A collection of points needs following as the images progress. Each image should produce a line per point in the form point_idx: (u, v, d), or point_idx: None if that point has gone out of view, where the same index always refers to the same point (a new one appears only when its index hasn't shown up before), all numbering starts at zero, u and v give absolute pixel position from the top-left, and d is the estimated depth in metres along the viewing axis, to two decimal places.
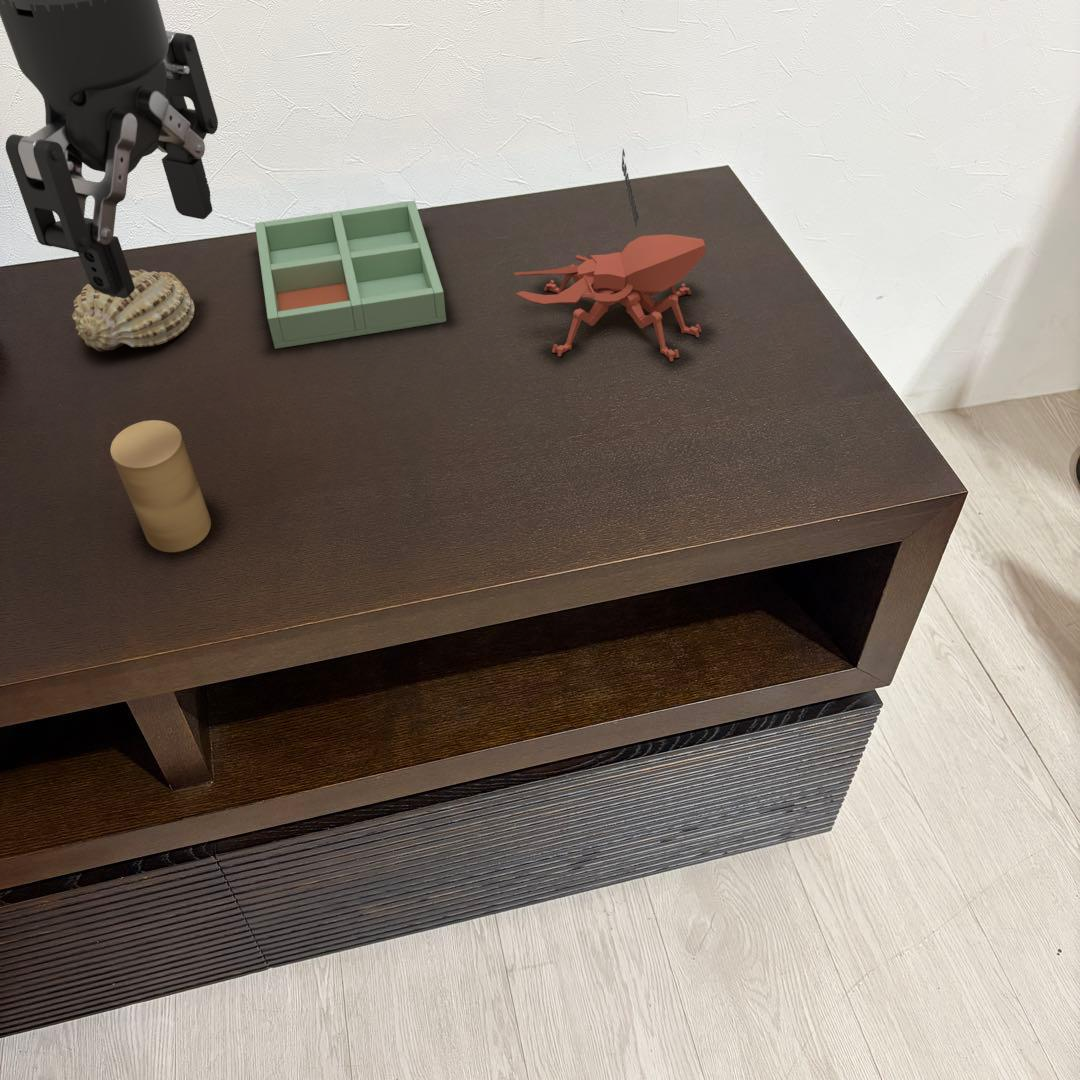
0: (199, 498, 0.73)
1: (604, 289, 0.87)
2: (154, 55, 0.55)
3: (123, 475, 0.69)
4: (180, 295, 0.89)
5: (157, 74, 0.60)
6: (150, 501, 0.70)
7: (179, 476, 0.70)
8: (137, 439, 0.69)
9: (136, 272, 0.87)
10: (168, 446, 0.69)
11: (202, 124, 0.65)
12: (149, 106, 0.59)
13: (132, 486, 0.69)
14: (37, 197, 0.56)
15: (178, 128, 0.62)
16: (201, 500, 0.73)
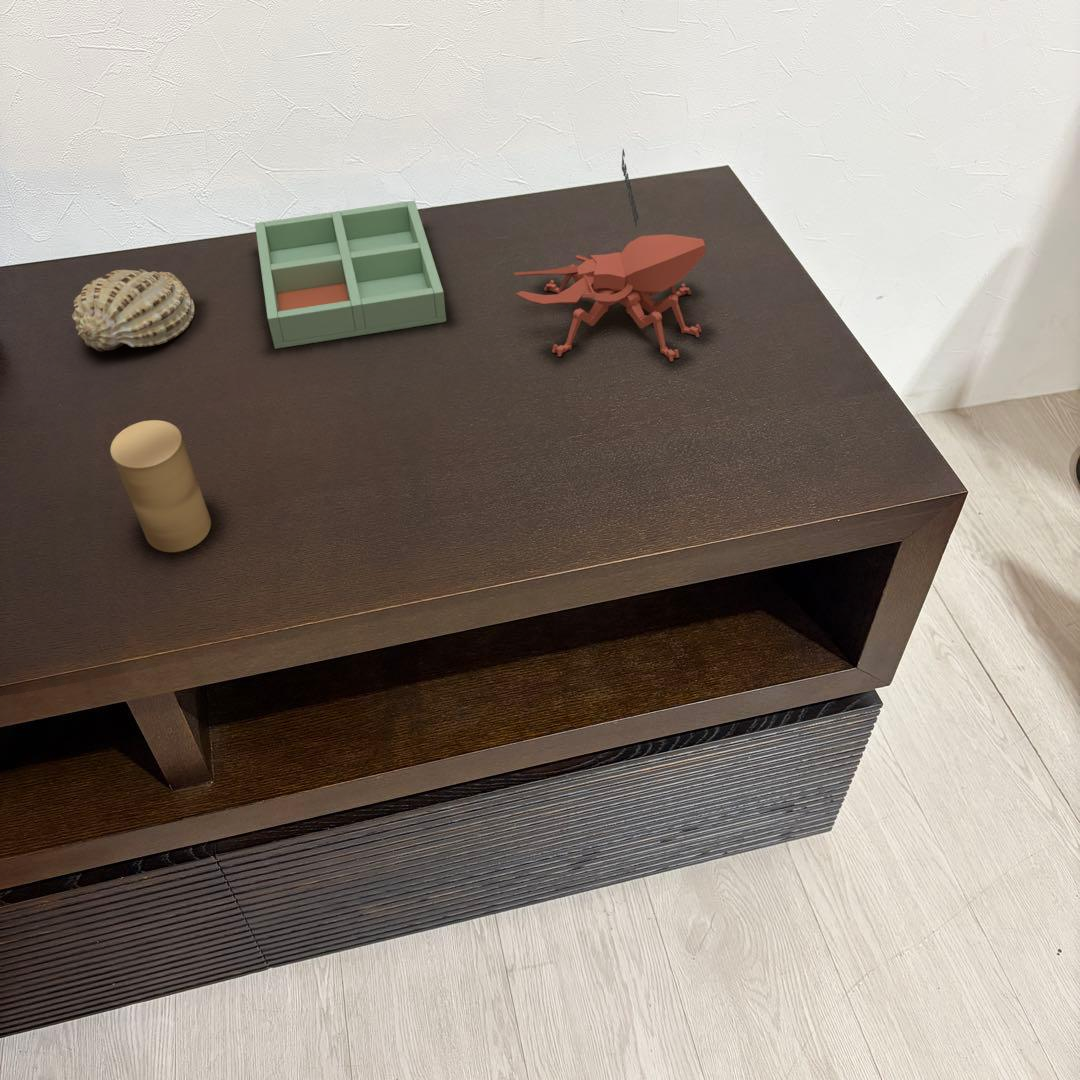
0: (199, 498, 0.73)
1: (604, 289, 0.87)
2: None
3: (123, 475, 0.69)
4: (180, 295, 0.89)
5: None
6: (150, 501, 0.70)
7: (179, 476, 0.70)
8: (137, 439, 0.69)
9: (136, 272, 0.87)
10: (168, 446, 0.69)
11: None
12: None
13: (132, 486, 0.69)
14: None
15: None
16: (201, 500, 0.73)
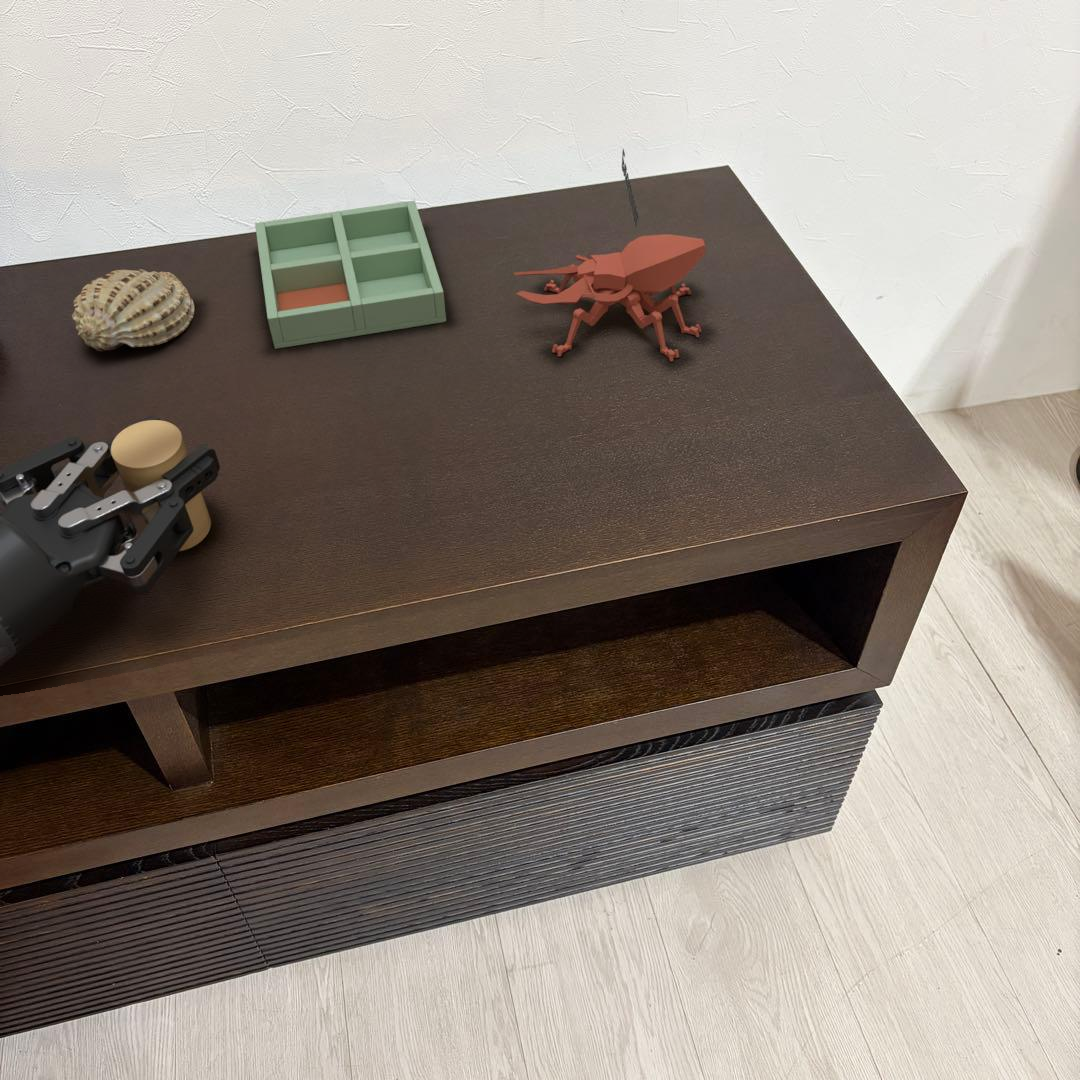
0: (199, 498, 0.73)
1: (604, 289, 0.87)
2: None
3: (123, 475, 0.69)
4: (179, 295, 0.89)
5: None
6: None
7: None
8: (137, 439, 0.69)
9: (136, 272, 0.87)
10: (168, 446, 0.69)
11: None
12: None
13: (132, 486, 0.69)
14: None
15: None
16: (201, 500, 0.73)
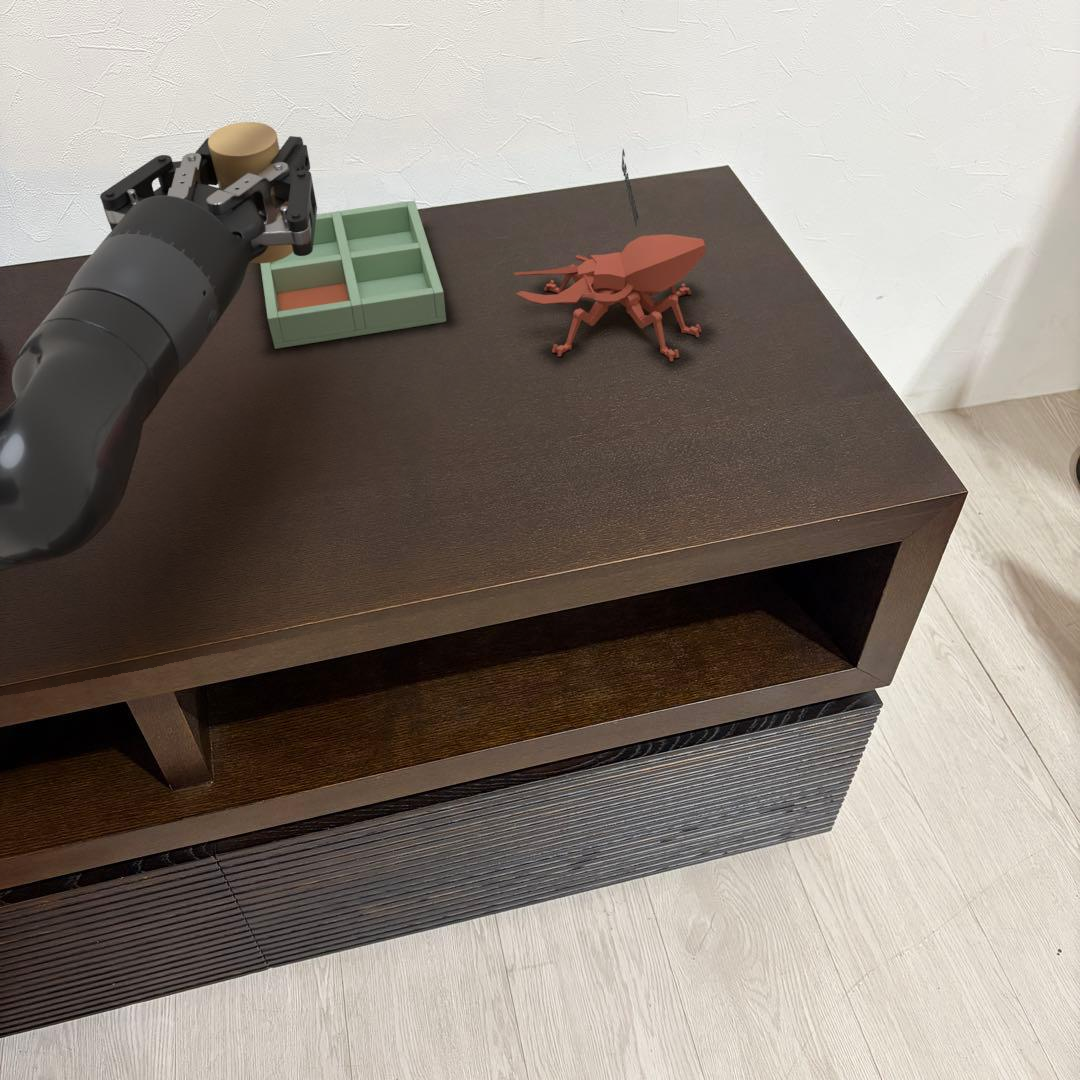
0: None
1: (604, 289, 0.87)
2: None
3: (231, 170, 0.70)
4: None
5: None
6: None
7: None
8: (232, 137, 0.71)
9: None
10: (266, 135, 0.71)
11: None
12: None
13: None
14: None
15: None
16: None
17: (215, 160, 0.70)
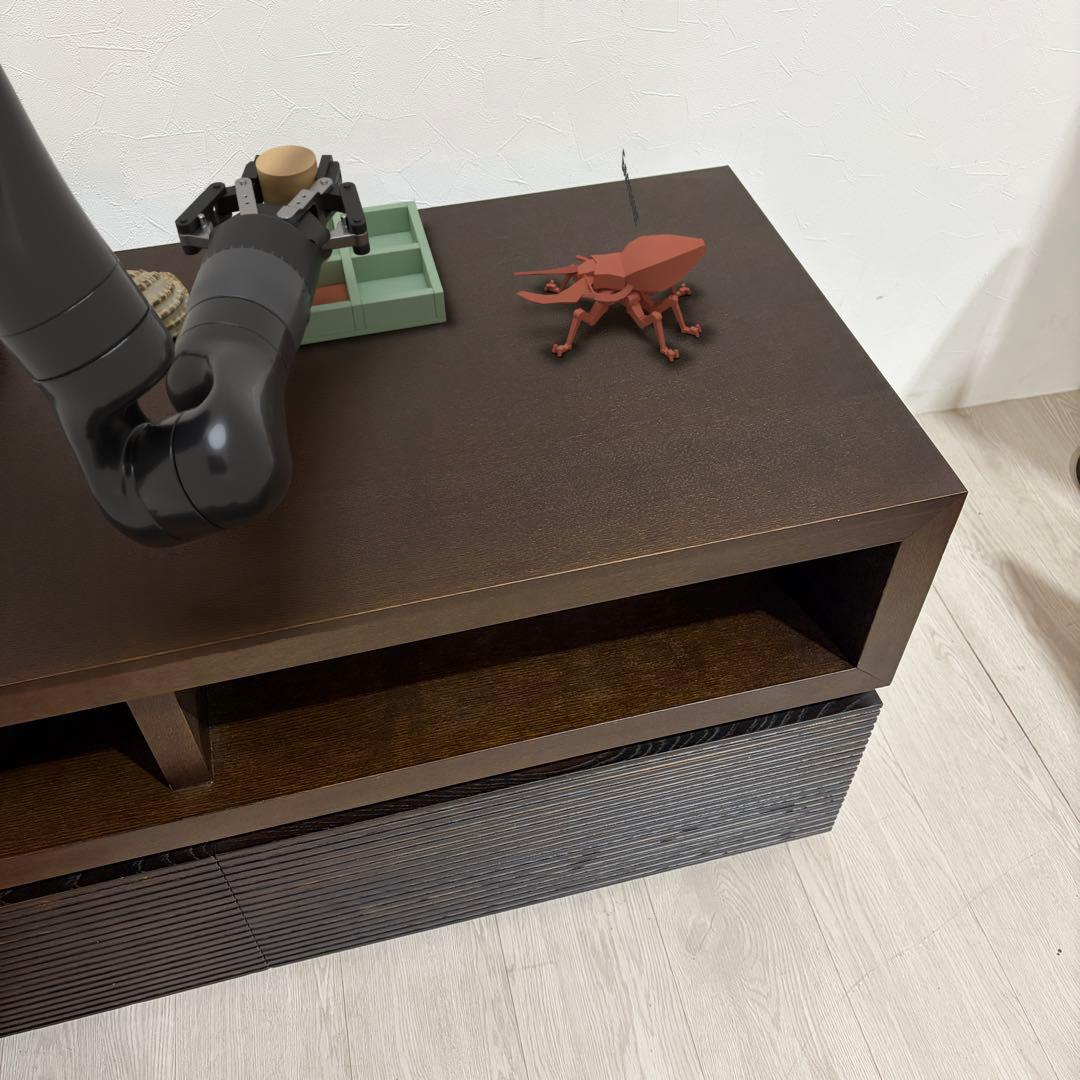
0: None
1: (604, 289, 0.87)
2: None
3: (282, 189, 0.80)
4: (180, 295, 0.89)
5: None
6: None
7: None
8: (276, 160, 0.80)
9: (136, 272, 0.87)
10: (306, 155, 0.81)
11: (342, 214, 0.81)
12: None
13: (290, 198, 0.80)
14: None
15: None
16: None
17: (265, 181, 0.80)
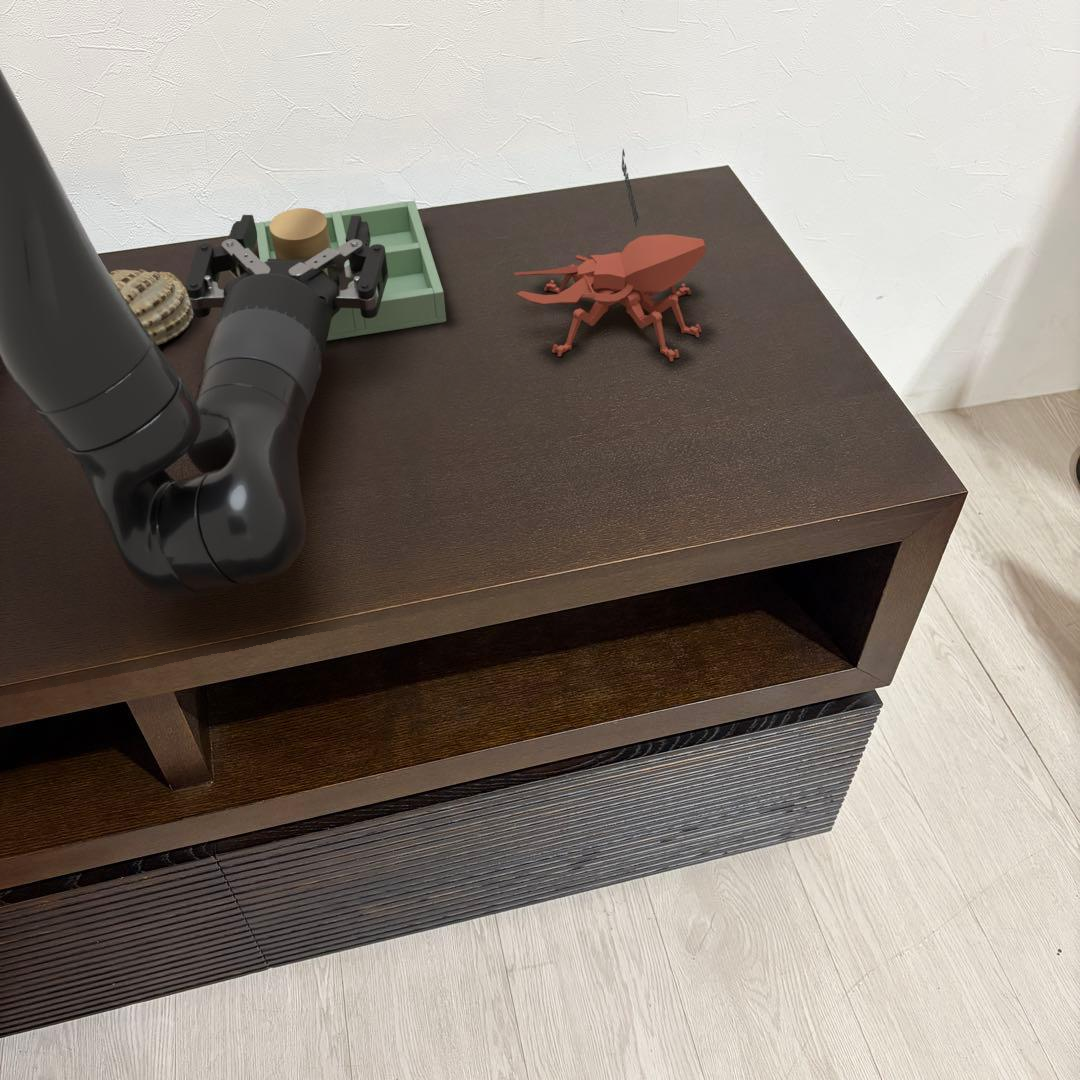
0: None
1: (604, 289, 0.87)
2: None
3: (294, 252, 0.84)
4: (180, 295, 0.89)
5: None
6: None
7: (330, 243, 0.86)
8: (289, 224, 0.84)
9: (136, 272, 0.87)
10: (317, 219, 0.85)
11: None
12: None
13: None
14: None
15: None
16: None
17: (279, 244, 0.84)
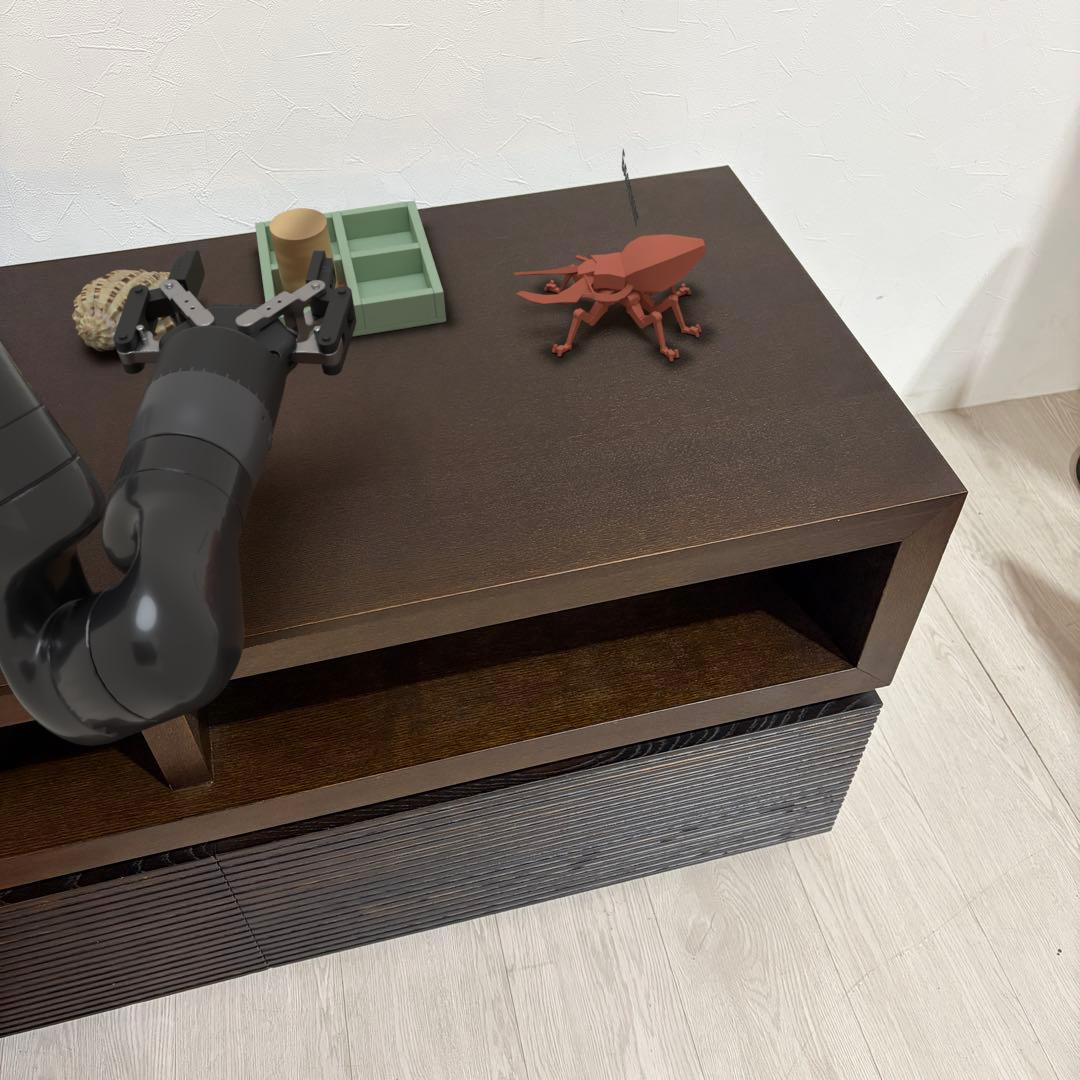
0: None
1: (604, 289, 0.87)
2: None
3: (294, 252, 0.84)
4: None
5: None
6: None
7: (330, 243, 0.86)
8: (289, 224, 0.84)
9: (136, 272, 0.87)
10: (317, 219, 0.85)
11: None
12: None
13: (302, 260, 0.84)
14: None
15: None
16: None
17: (279, 244, 0.84)
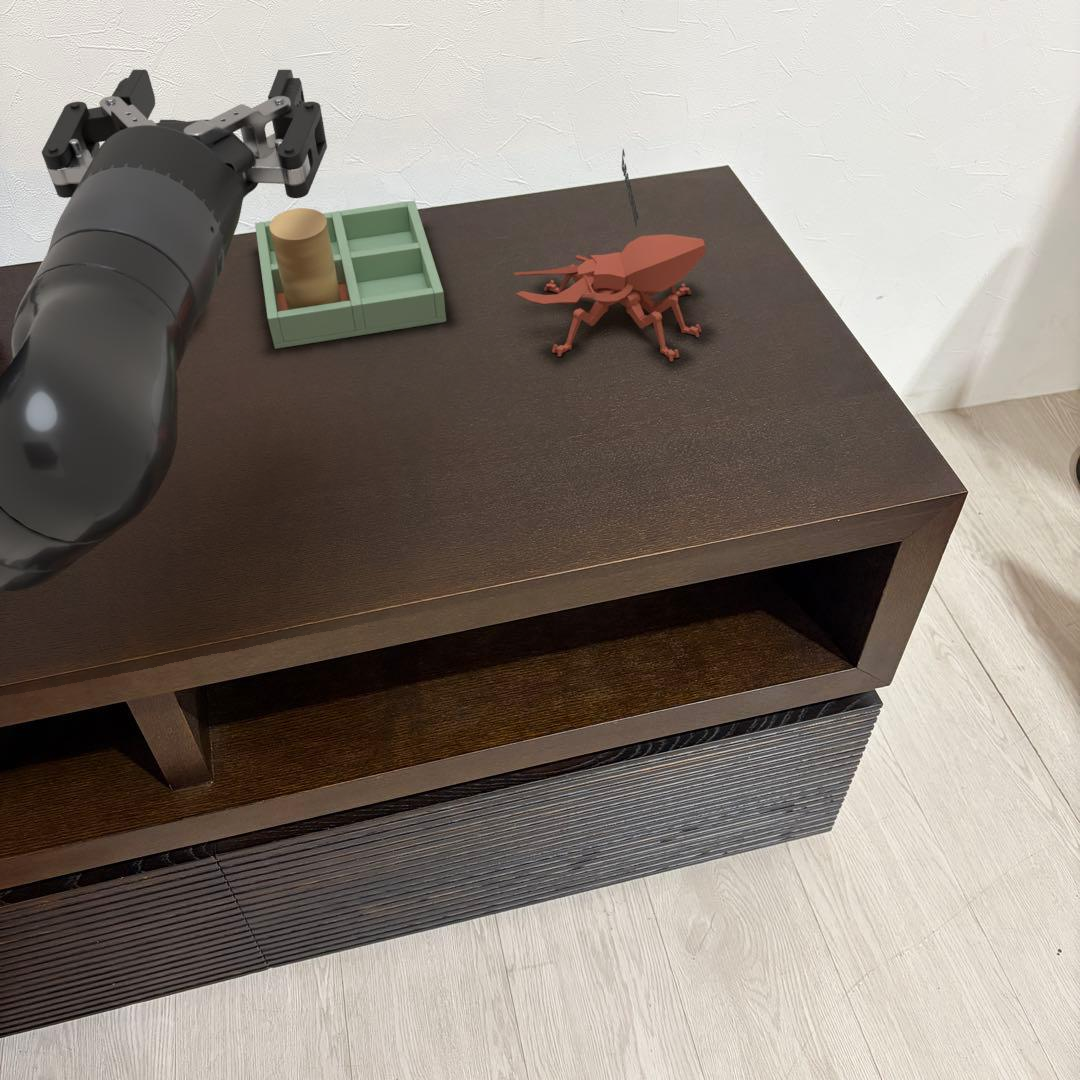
0: None
1: (604, 289, 0.87)
2: None
3: (294, 252, 0.84)
4: None
5: None
6: (316, 270, 0.85)
7: (330, 243, 0.86)
8: (289, 224, 0.84)
9: None
10: (317, 219, 0.85)
11: None
12: None
13: (302, 260, 0.84)
14: None
15: None
16: None
17: (279, 244, 0.84)
